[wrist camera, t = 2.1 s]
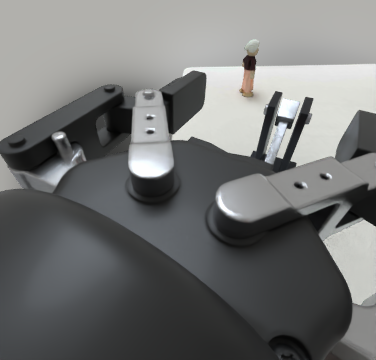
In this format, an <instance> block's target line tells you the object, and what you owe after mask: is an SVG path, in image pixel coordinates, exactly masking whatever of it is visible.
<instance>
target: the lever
mask: <svg viewBox="0 0 376 360" xmlns="http://www.w3.org/2000/svg"><path fill="white" fill-rule="evenodd" d="M299 104H300V102H298V101H293V100H288V99H283V101H282V103H281V106H280V109H279V111H278V114H277V117H276V121H275V126H278V127H277V130H276V132H275V135H274V138H273V140H272V143H271V146H270V148H269V151H268V153H267V156H266V159H265V161H264V162H267V163H270V164H274V161H275V158H276V155H277V153H278V150H279V147H280V144H281V142H282V139H283V136H284V134H285V131H286V128H288V129H291V127H292V124H293V121H294V119H295V116H296V113H297V110H298V107H299Z"/></svg>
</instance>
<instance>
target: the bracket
mask: <svg viewBox="0 0 376 360" xmlns="http://www.w3.org/2000/svg"><path fill="white" fill-rule="evenodd" d="M281 97H282V92H277V91H275V93H274V95H273V97H272V99H271V101H270V103H269V104H267V105H266V106H265V109H264V115H265V119H264V123H263V127H262V131H261V135H260V139H259V143H258V147H257V151H253V152H252V154H251V157H253V158H256V159H259V160H262V161H265V159H266V156H267V154H265V153H266V149H267V146H268V142H269V139H270V135H271V132H272V128H273V125H274V121H275V118H276V114H277V111H278V107H279V104H280V100H281ZM312 102H313V98H309V97H305V100H304V103H303V105H302V108H301V111H300V113H299V116H298V119H297V122H296V124H295V127H294V130H293V133H292V135H291V138H290V141H289V143H288V146H287V149H286V152H285V154H284V157H283V159H281V158H277V157H276V158H275V161H274V164H273V165H274V166H273V168H272V171H273V172H275V173H279V172H282V171H285V170H288V169H292V168H295V167H296V164H297V163H295V162H291V161H290V160H291V157H292V155H293V152H294V150H295V147H296V145H297V142H298V140H299V137H300V135H301V132H302V130H303V127H304V125H305V124H309V122H310V119H311V117H312V114H310V113H309V112H310V108H311V105H312Z"/></svg>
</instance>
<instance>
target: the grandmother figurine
mask: <svg viewBox="0 0 376 360" xmlns="http://www.w3.org/2000/svg"><path fill="white" fill-rule="evenodd" d="M258 47H259V41H258V40H255V39H254V40H251V41H250V42H249V43H248V44H247V45H246V46H245V48H244V49H245V50H247V53H248V55H247V56H246V57H245V58H244V59H243V64H242V66H243V67H244V78H243V83H242V88H241V89H240V90H239V91H240V92H242V93H243V92H244V93H243V94H242V95H243V96H247V97H252V96H253V93H252V92H251V90H253V79H254V74H255V65H256V59H255V55H257V53H258Z"/></svg>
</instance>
